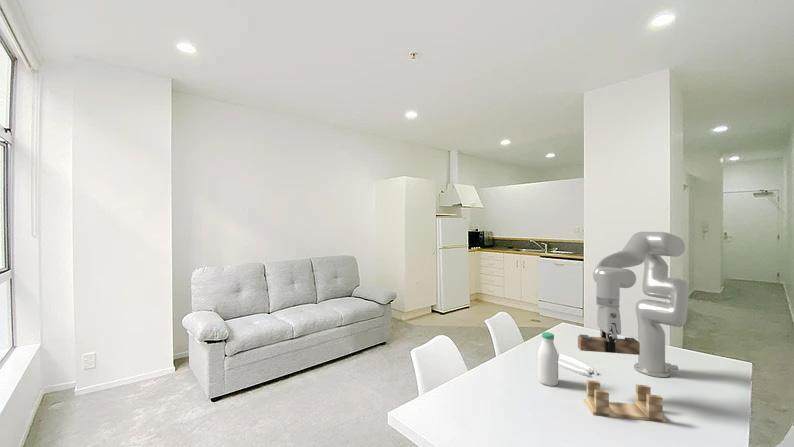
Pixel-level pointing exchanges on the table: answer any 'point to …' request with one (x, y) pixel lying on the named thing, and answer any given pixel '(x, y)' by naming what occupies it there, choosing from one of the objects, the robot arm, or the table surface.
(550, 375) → the milk bottle
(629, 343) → the rail
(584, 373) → the door handle
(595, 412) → the wooden cradle stand
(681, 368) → the table surface
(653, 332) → the robot arm
